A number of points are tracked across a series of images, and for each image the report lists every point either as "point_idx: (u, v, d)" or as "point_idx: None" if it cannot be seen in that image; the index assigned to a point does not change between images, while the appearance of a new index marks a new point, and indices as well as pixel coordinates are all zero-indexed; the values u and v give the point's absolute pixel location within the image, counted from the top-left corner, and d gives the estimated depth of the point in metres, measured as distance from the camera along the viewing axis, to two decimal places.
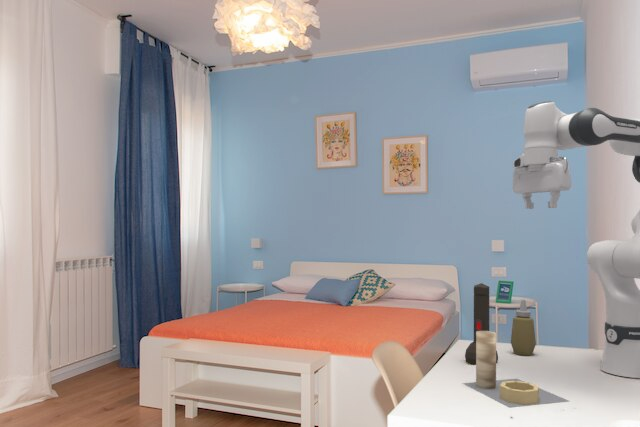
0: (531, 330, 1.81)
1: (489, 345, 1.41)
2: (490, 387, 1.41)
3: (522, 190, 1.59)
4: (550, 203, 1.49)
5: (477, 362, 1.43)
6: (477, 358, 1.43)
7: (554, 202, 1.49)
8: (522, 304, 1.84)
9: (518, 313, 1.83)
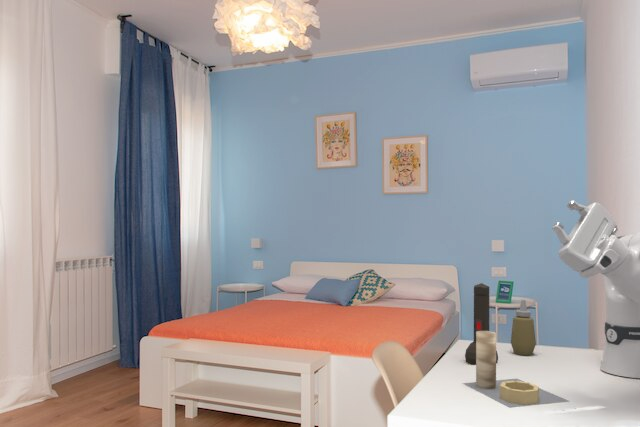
0: (531, 330, 1.81)
1: (489, 345, 1.41)
2: (490, 387, 1.41)
3: None
4: None
5: (477, 362, 1.43)
6: (477, 358, 1.43)
7: None
8: (522, 304, 1.84)
9: (518, 313, 1.83)
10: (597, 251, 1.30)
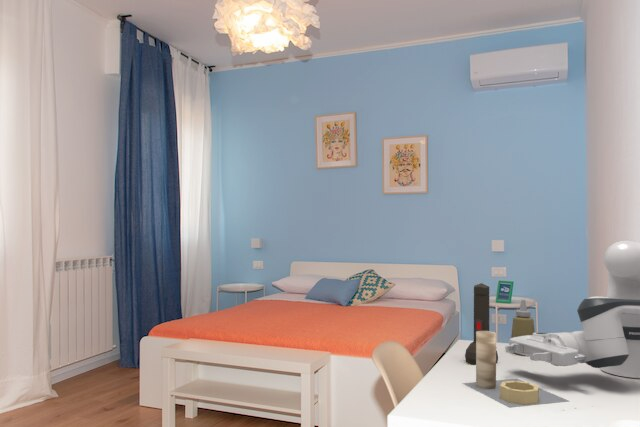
0: (531, 330, 1.81)
1: (489, 345, 1.41)
2: (490, 387, 1.41)
3: (520, 341, 1.54)
4: (536, 353, 1.42)
5: (477, 362, 1.43)
6: (477, 358, 1.43)
7: (538, 357, 1.42)
8: (522, 304, 1.84)
9: (518, 313, 1.83)
10: None
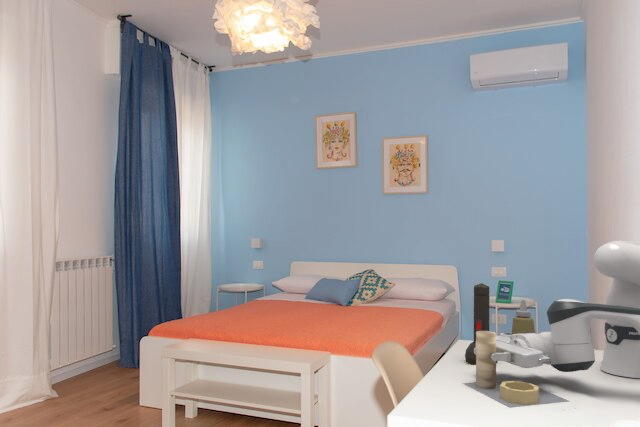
0: (531, 330, 1.81)
1: (489, 345, 1.41)
2: (490, 387, 1.41)
3: None
4: (496, 353, 1.40)
5: (477, 362, 1.43)
6: (477, 358, 1.43)
7: (498, 357, 1.40)
8: (522, 304, 1.84)
9: (518, 313, 1.83)
10: None
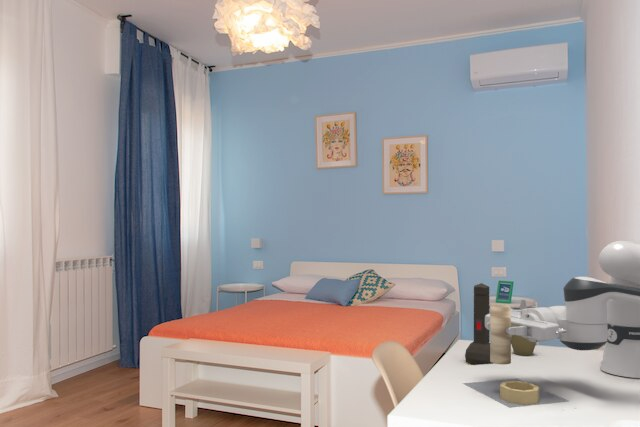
0: None
1: (505, 318, 1.36)
2: (506, 362, 1.36)
3: None
4: (512, 327, 1.36)
5: (492, 337, 1.38)
6: (492, 333, 1.38)
7: (514, 331, 1.35)
8: (522, 304, 1.84)
9: None
10: None
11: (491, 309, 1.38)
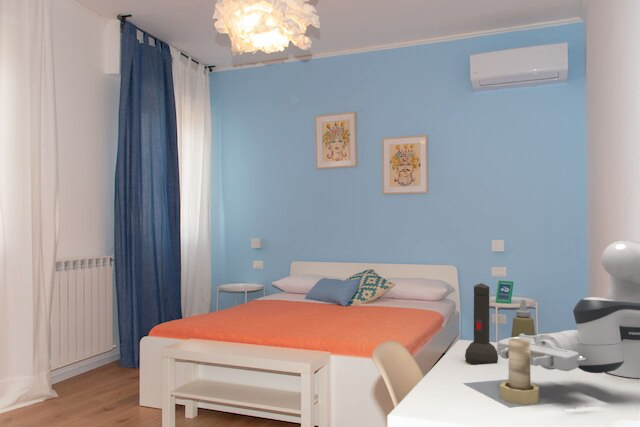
0: (531, 330, 1.81)
1: (525, 354, 1.31)
2: None
3: None
4: (536, 357, 1.30)
5: (511, 373, 1.32)
6: (511, 369, 1.32)
7: (538, 362, 1.30)
8: (522, 304, 1.84)
9: (518, 313, 1.83)
10: None
11: (510, 344, 1.33)
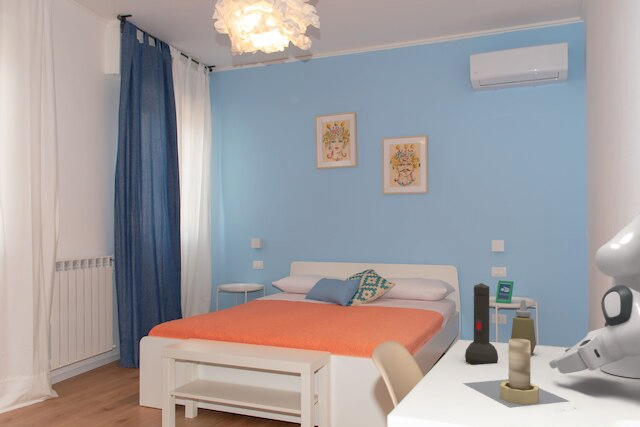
0: (531, 330, 1.81)
1: (525, 354, 1.31)
2: None
3: None
4: None
5: (511, 373, 1.32)
6: (511, 369, 1.32)
7: None
8: (522, 304, 1.84)
9: (518, 313, 1.83)
10: None
11: (510, 344, 1.33)
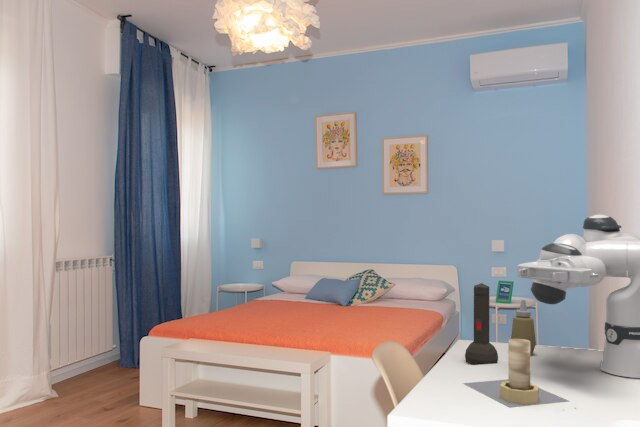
0: (531, 330, 1.81)
1: (525, 354, 1.31)
2: None
3: (530, 265, 1.55)
4: (555, 272, 1.44)
5: (511, 373, 1.32)
6: (511, 369, 1.32)
7: (557, 276, 1.43)
8: (522, 304, 1.84)
9: (518, 313, 1.83)
10: (545, 280, 1.57)
11: (510, 344, 1.33)
